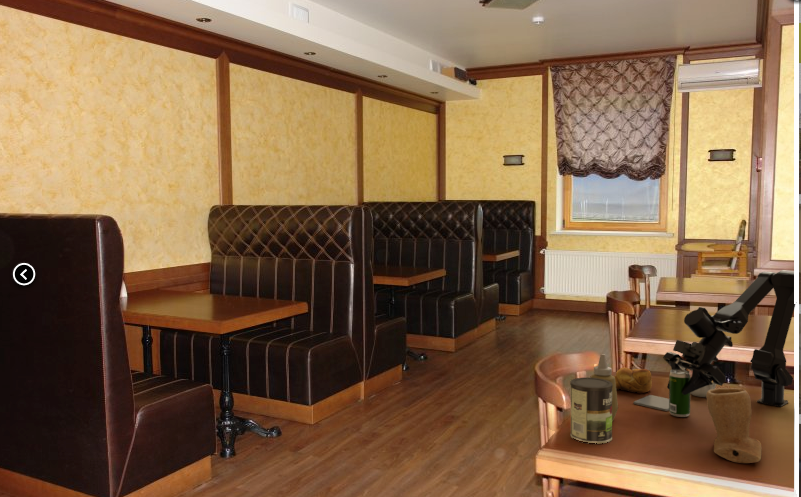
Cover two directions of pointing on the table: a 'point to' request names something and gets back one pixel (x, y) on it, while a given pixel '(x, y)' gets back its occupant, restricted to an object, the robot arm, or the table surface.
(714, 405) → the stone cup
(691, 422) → the table surface
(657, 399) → the coaster
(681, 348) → the robot arm
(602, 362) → the squeeze bottle
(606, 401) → the coffee can
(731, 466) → the table surface
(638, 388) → the bread roll
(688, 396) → the guarana soda can
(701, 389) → the cupcake
